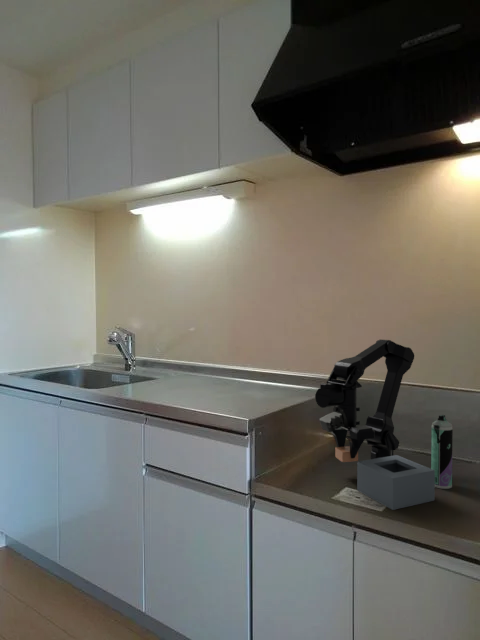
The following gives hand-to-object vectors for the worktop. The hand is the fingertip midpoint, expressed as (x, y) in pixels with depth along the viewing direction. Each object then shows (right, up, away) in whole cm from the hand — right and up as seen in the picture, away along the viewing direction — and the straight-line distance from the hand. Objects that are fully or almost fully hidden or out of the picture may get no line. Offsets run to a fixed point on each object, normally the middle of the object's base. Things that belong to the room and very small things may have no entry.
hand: (346, 455), depth 142 cm
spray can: (+25, -7, -7) cm, 27 cm away
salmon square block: (0, -1, 0) cm, 1 cm away
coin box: (+10, -7, -14) cm, 18 cm away
